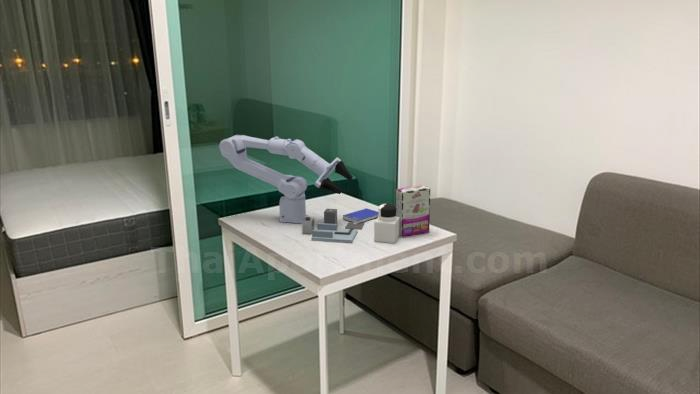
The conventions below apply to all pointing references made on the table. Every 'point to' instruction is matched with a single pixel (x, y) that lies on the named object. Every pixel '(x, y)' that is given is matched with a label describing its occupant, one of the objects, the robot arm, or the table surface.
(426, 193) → the candy bar box
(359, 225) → the mat
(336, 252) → the table surface
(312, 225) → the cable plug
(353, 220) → the hard drive
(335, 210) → the block
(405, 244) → the table surface
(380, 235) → the medicine bottle
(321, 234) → the blue-grey panel
